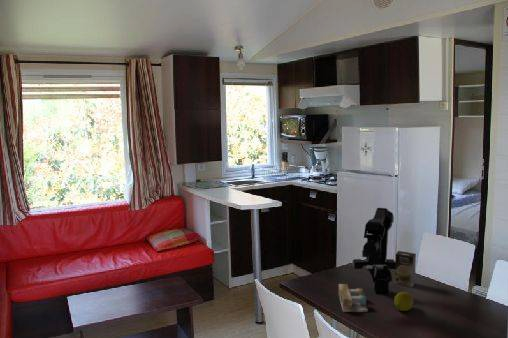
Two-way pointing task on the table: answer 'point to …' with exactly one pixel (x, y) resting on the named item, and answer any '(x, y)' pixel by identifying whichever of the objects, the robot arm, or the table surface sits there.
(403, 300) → the lemon
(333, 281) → the table surface
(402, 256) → the coffee box
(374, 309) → the table surface
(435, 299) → the table surface
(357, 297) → the teal knob
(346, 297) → the mount
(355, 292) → the terracotta knob
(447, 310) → the table surface
